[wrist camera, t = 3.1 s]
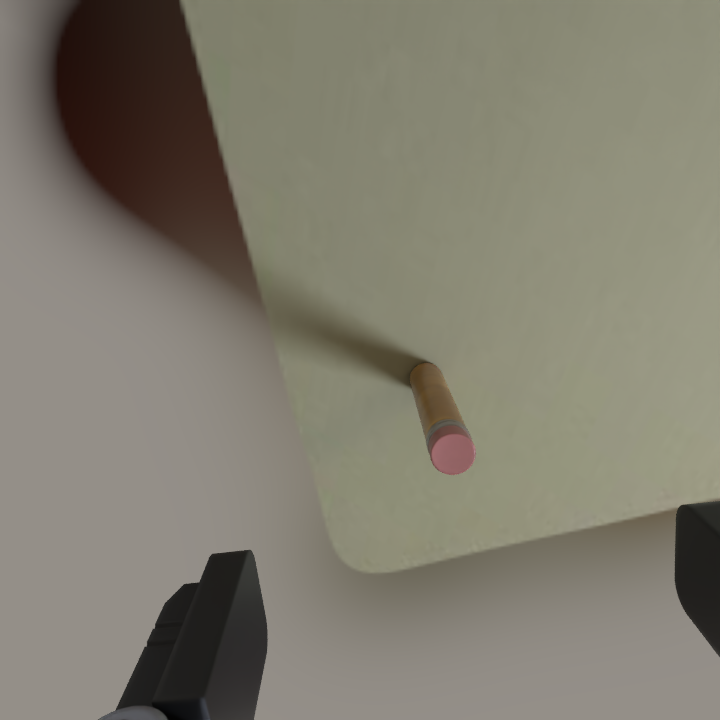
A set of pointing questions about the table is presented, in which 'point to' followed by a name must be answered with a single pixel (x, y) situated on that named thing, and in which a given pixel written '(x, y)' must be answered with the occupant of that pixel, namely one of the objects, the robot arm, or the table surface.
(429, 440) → the pencil
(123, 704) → the robot arm
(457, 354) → the table surface
